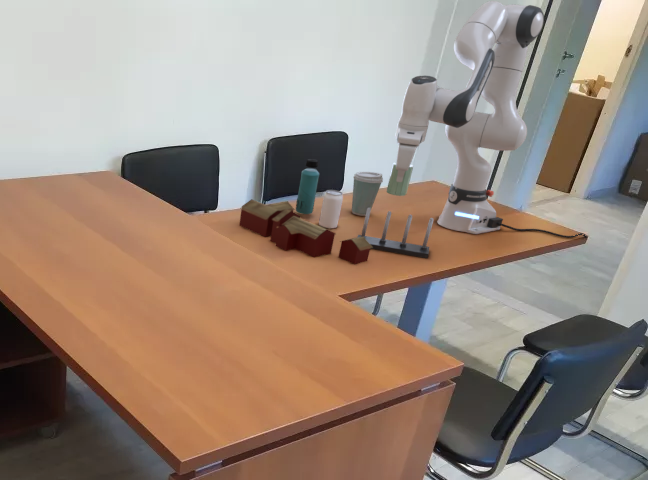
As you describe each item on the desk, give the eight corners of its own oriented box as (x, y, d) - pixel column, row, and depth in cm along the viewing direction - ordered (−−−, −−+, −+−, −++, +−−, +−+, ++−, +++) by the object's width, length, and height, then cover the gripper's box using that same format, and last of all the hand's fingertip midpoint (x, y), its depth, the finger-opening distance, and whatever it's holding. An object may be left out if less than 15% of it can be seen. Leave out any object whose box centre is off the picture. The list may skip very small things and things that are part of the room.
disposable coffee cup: (342, 213, 262) (350, 173, 255) (351, 206, 271) (359, 167, 263) (370, 219, 258) (379, 178, 250) (378, 212, 266) (387, 172, 258)
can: (337, 229, 246) (344, 195, 240) (318, 227, 247) (324, 193, 240) (336, 224, 251) (343, 190, 245) (318, 222, 252) (324, 188, 246)
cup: (382, 190, 227) (389, 162, 222) (398, 190, 229) (405, 161, 224) (394, 196, 222) (401, 167, 217) (409, 195, 224) (417, 166, 219)
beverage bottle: (314, 215, 259) (325, 160, 248) (308, 219, 254) (318, 163, 243) (298, 211, 261) (307, 156, 251) (291, 215, 256) (300, 160, 246)
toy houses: (233, 226, 242) (236, 197, 237) (276, 218, 253) (281, 190, 248) (331, 271, 211) (338, 239, 206) (376, 260, 222) (383, 229, 217)
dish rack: (428, 251, 232) (438, 215, 226) (427, 258, 226) (437, 222, 220) (357, 238, 239) (365, 204, 233) (354, 245, 233) (362, 210, 227)
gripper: (402, 126, 225) (391, 170, 232) (398, 138, 209) (387, 184, 216) (422, 129, 224) (411, 173, 231) (420, 141, 207) (408, 188, 214)
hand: (399, 178), depth 223 cm, fingers closed on cup, 6 cm apart
